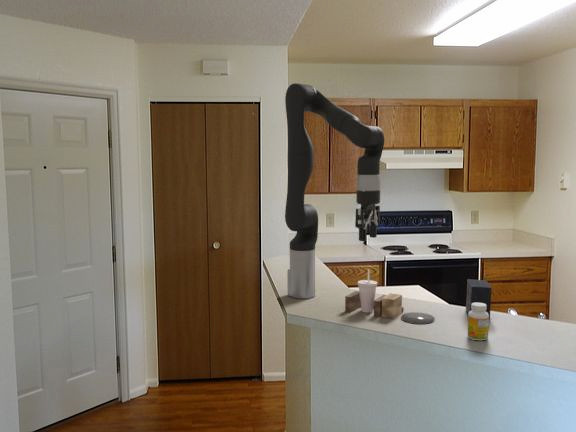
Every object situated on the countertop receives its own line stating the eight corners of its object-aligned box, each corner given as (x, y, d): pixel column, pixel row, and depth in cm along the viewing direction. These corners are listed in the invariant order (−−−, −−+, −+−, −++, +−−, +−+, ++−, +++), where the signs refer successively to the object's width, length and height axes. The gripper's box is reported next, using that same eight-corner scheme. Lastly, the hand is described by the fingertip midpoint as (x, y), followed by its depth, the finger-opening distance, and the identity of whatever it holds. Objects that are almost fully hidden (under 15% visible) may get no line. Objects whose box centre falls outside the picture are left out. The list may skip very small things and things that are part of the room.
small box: (491, 320, 166) (492, 287, 165) (469, 319, 167) (470, 286, 166) (486, 310, 176) (487, 279, 175) (465, 309, 177) (466, 278, 176)
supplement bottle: (464, 335, 152) (465, 301, 151) (482, 334, 152) (483, 301, 151) (472, 342, 147) (473, 307, 146) (491, 341, 147) (492, 306, 146)
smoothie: (364, 314, 172) (365, 271, 171) (353, 309, 178) (353, 268, 176) (381, 312, 175) (381, 269, 174) (369, 307, 181) (369, 266, 179)
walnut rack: (345, 311, 176) (345, 293, 176) (356, 304, 184) (357, 287, 183) (393, 319, 168) (393, 300, 167) (403, 311, 175) (403, 293, 175)
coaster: (396, 320, 166) (396, 318, 166) (407, 312, 174) (407, 310, 174) (428, 325, 161) (428, 323, 161) (438, 317, 169) (438, 315, 169)
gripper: (366, 187, 180) (366, 235, 182) (348, 189, 168) (347, 241, 170) (387, 188, 176) (387, 237, 178) (370, 190, 164) (369, 243, 166)
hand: (367, 239), depth 174 cm, fingers open, 8 cm apart
